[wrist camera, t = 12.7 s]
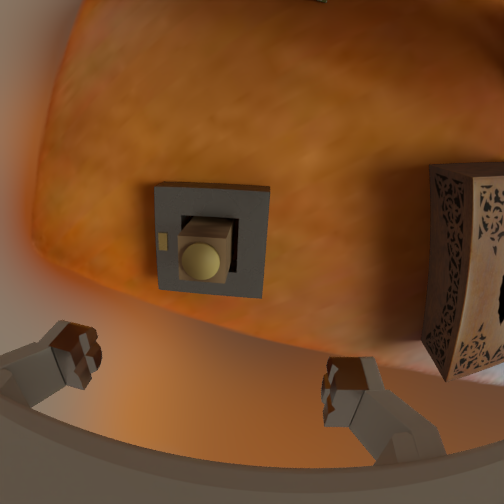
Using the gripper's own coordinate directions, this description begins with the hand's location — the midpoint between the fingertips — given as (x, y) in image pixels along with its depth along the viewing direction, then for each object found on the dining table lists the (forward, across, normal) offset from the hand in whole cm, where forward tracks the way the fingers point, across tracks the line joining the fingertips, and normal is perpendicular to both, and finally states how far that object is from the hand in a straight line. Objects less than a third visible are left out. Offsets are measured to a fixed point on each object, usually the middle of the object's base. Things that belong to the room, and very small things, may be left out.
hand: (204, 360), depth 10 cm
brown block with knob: (+27, +5, +5) cm, 28 cm away
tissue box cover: (+29, -30, +6) cm, 42 cm away
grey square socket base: (+27, +5, +6) cm, 28 cm away
